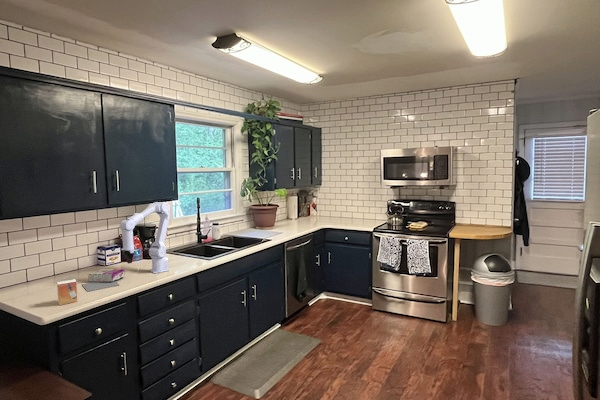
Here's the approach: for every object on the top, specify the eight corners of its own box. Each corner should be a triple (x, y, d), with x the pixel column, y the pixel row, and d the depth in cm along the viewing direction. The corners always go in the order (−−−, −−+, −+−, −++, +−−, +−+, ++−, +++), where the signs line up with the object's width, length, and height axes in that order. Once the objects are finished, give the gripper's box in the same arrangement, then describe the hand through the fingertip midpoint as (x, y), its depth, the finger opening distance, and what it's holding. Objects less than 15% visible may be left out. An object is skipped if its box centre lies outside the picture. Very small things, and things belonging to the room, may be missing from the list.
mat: (112, 279, 223) (112, 278, 223) (119, 285, 211) (119, 284, 211) (81, 284, 213) (81, 284, 213) (87, 291, 200) (87, 291, 200)
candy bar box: (125, 277, 225) (102, 276, 228) (124, 268, 224) (101, 268, 228) (112, 282, 214) (88, 281, 218) (111, 273, 213) (87, 273, 217)
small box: (58, 305, 181) (57, 284, 180) (58, 302, 185) (56, 281, 184) (78, 302, 185) (76, 281, 184) (76, 298, 190) (75, 278, 189)
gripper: (117, 239, 223) (119, 262, 224) (124, 243, 212) (125, 266, 213) (130, 238, 227) (131, 259, 228) (137, 241, 216) (138, 264, 217)
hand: (129, 263), depth 221 cm, fingers closed
